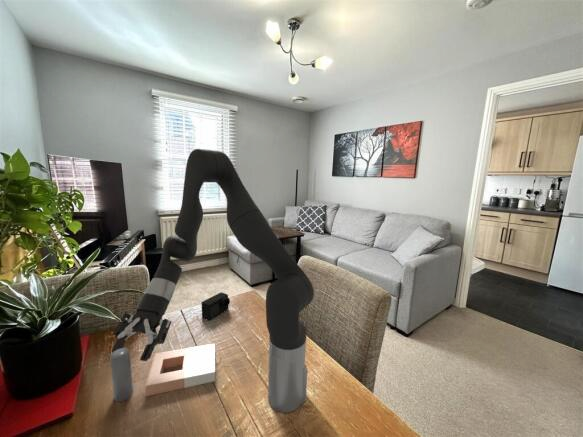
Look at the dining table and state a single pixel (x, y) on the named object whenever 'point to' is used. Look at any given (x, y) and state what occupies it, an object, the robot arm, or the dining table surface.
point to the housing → (194, 370)
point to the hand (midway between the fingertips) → (129, 358)
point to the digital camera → (215, 306)
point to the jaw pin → (121, 374)
